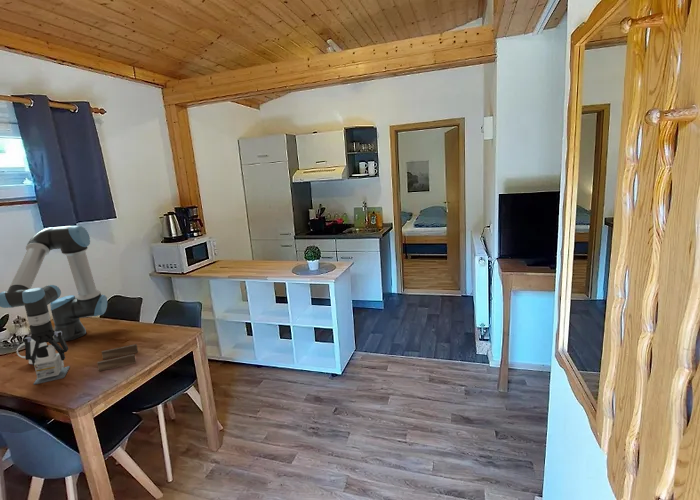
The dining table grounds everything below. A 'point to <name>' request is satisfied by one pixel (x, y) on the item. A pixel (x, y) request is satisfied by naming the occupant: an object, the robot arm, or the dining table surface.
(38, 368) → the container
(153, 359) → the dining table surface
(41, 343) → the mug
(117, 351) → the rack
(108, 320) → the dining table surface
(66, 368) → the pad
